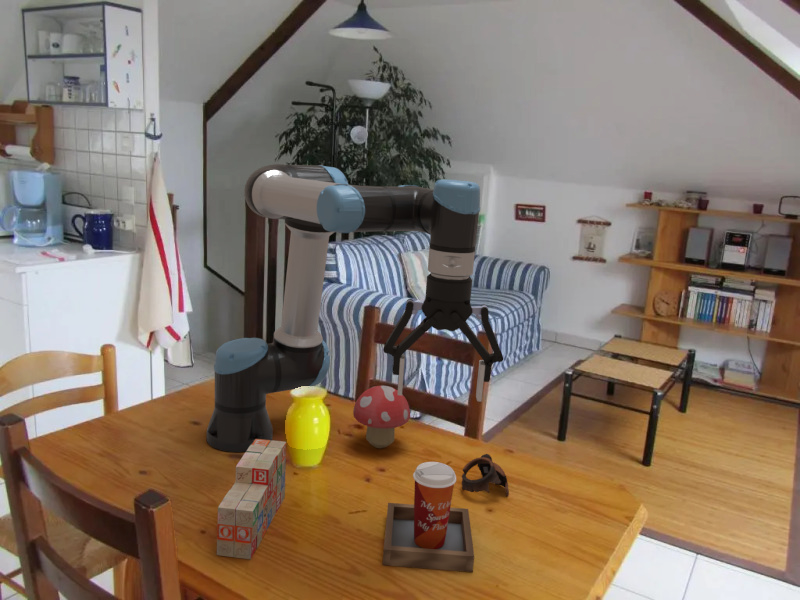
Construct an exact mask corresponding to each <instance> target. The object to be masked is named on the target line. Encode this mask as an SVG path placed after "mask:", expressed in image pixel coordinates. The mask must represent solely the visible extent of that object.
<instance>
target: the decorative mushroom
mask: <svg viewBox="0 0 800 600" xmlns="http://www.w3.org/2000/svg"><path fill="white" fill-rule="evenodd" d="M410 410H411V409H410V405H409V402H408V401H407V398H406V397H405V396H404V395H403V394H402V395H398V389H396V388H394V387H392V386H388V385H376V386H372V387H369V388H367V389H366V390H365V391H363V393H361V394H360V396H358V398H357V399H356V402H355V403H354V407H353V412H352V415H353V418H355V420H356V421H357V422H358V423H360V424H361V425H363V426H366V434H365V440H366V441H368V443H369V444H370V445H372V447H374V448H377V449H384V448H387V447H388V446H390V445H391V444H393V443H394V442H395V428H399V427H402V426H403V425H405V424H407V423H408V422H409V421H410V418H411V411H410Z"/></svg>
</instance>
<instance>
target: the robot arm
mask: <svg viewBox="0 0 800 600" xmlns="http://www.w3.org/2000/svg"><path fill="white" fill-rule="evenodd" d="M243 191H244V199H245V202H246V203H247V204H246V205H247V206H248V207H249V208H250V210H251V211H252V212H253V213H255V214H257V215H258V216H260V217H263V218H266V219H273V220H285V221H284V225H285V226H286V227H287V229H288V230H289V231H290V239H289V248H288V256H287V257H288V258H287V267H286V277H285V286H284V297H283V305H282V314H281V324H280V327H278V328H277V329H276V330H275V331H274V332H273V339H272V343H267V342H266V340H264V339H262V338H259V337H250V338H249V337H241V338H236V339H232V340H228V341H226V342H225V343H222V344H221V345H220V346H219V347H218V348H217V350H216V352H215V359H214V365H213V371H214V408H213V412H212V414H211V416H210V420H209V423H208V425H207V428H206V442H207V444H208V445H209V446H211V447H212V448H214V449H216V450H220V451H222V452H223V451H224V452H231V453H242V452H244V453H245V452H246V451H247V449H248V448H249V446H250V445H252V443H253V442H254V440H255V439H263V440H270V441H272V440H273V434H274V433H273V431H274V429H273V425H272V422H271V419H270V416H269V413H268V409H267V395H268V394H274V393H279V392H280V393H281V392H285V391H291V390H296V389H295V388H298V387H301V386H310V387H313V386H317V385H320V383H322V382H323V381H324V380H325V378H326V377H327V375H328V372H329V369H330V362H331V358H330V355H329V353H330V350H329V347H328V345H327V342H325V340H324V339H323V336H322V335H323V334H321V333H320V331H318V328H319V319H320V312H321V304H322V297H323V296H322V295H323V288H324V280H325V279H324V278H325V273H326V265H327V264H326V263H327V256H328V249H329V240H330V236H331V235H333V234H334V233H339V234H340V233H341V234H350V233H358V232H359V233H361V232H363V233H364V232H420V233H425V234H427V235H429V236H430V239H429V246H428V247H429V249H428V258H427V259H428V261H427V271H428V272H429V274H428V275H427V276H426V283H425V286H426V287H425V297H424V300H423V302H419V301H415V300H413V299H412V298H409V299H406V300H407V301H406V304H405V309H404V312H403V313H402V315H401V317H400V318H399V320H398V322H397V323H396V325H395V327H394V328H393V329H392V332H391V333H390V334H389V337H388V338H387V339H386V341H385V343H384V345H383V348H382V349H383V353H385V354H388V355H391V356H392V358H393V360H392V375H393V376H398V381H397V382H398V385H397V390H398V395H403V385H404V373H405V372H404V370H405V358H406V355H405V352H407V350H408V349H410V348H411V347H412V346H413V345H414V344H415V343H416V342H417V341H418V340H419V339H420V338H421V337H422V336H423V335H424V334H425V333H427V332H428V331H429V330H430V329H431V328H433V329H435V330H436V331H445V330H446V331H449V332H455V331H457V330H460V331H461V332H462V334H463V335H464V336H465V337H466V339H467V340H468V341H469V343H470V344H471V345H472V347H473V348H474V350H475V351H476V352H477V354H478V355H479V356H480V357H481V359H480V360H479V362H478V369H477V371H478V372H477V380H476V381H477V382H476V389H475V390H476V391H475V392H476V393H475V397H476V402H481V403H482V400H483V392H484V391H483V390H484V382H485V383H490V380H491V374H492V366H493V364H494V363H501V362H503V361H504V355H503V354H502V351H501V348H500V344H499V343H498V341H497V338H496V335H495V333H494V331H493V328H492V326H491V323H490V321H489V318H490V317H489V315H490V313H489V308H488V306H487V304H484V303H483V304H481V305H480V306H479V305H477V306H472V305H471V299H472V298H471V297H472V289H473V288H472V287H473V279H472V278H471V277H470V276H472V275H473V274H474V266H475V254H476V253H475V252H476V246H477V245H476V244H477V233H478V226H479V225H478V223H479V215H480V211H481V207H480V206H481V204H480V203H481V201H480V200H481V188H480V185H479V184H478V183H477V182H475V181H470V180H459V179H447V178H446V179H437V180H436V181H435V183H434V186H433V189H432V188H428V187H421V186H419V185H416V184H413V185H411V184H403V185H398V186H391V185H390V186H387V185H386V186H385V185H384V186H383V185H381V186H374V185H373V186H372V185H359V184H358V185H357V184H349V183H348V179H347V177H346V175H345V174H344V173H343V172H342V171H341V170H340V169H339V168H337V167H333V166H325V165H320V164H318V165H315V164H314V165H313V164H311V165H309V164H308V165H307V164H284V163H283V164H279V163H277V164H276V163H275V164H274V163H273V164H268V165H265V166H261V167H260V168H258V169H256V170H254V171H253V172H252V173H251V174H250V175H249V177H248V178H247V180H246V182H245V185H244V190H243ZM418 311H421V312H422V313H423V315H424V316H425V317H424V318H423V319H422V320H421V322H420V323H419V324H418V325H417V326H416V327H415V328H414V329H413V330H412V331H410V333H409V334H408V335H407V336H406V337H404V338H403V340H402V341H401V342H400V343H399V344H397V346H395V344H396V343H397V342H398V340H399V338H400V336H401V335H402V333H403V332H404V330H405V328H406V326H407V325H408V323H410V320H411V318H412V316H413V315H416V314H417V313H418ZM472 314H473V315H475V317H476V319H477V320H478V321H479V320H480V321H481V324H482V327H483V330H484V333H485V335H486V337H487V340H488V342H489V345H490V348H491V349H492V353H490V352H489V351H488V350H487V348H486V347H485V345H484V344H483V343H482V341H481V340H480V338H479V337H478V336H477V335H476V334H475V332H474V331H473V329H471V327H470V324H469V323H468V322H467V320H468V319H469V318H470V317H471V316H472Z"/></svg>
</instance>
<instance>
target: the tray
mask: <svg viewBox="0 0 800 600" xmlns="http://www.w3.org/2000/svg"><path fill="white" fill-rule="evenodd" d="M386 510H387V511H386V520H385V521H386V522H385V532H384V540H383V541H384V542H383V543H384V544H383V554H382V566H392V567H402V568H403V567H404V568H405V567H406V568H417V569H426V570H427V569H431V570H439V571H441V570H443V571H453V572H455V571H456V572H467V573H473V571H474V563H475V552H474V543H473V537H472V529H471V519H470V512H469V508H461V507H450V513H449V519H448V526H447V532H446V537H445V542H444V545H443V546H442V547H441V548H439V549H425V548H421V547H419V546H418V545H416V543H415V541H414V504H410V503H409V504H408V503H396V502H387V509H386Z"/></svg>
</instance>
